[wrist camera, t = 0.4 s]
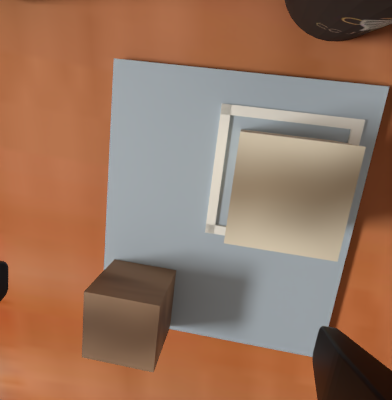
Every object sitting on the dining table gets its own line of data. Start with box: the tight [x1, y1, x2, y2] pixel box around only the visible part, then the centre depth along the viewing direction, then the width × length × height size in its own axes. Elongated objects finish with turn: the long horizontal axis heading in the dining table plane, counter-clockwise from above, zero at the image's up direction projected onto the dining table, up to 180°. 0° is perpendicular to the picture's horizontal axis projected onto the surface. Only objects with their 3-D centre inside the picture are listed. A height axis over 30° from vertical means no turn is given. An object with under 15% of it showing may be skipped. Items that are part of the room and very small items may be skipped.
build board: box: [104, 59, 389, 357], centre depth 21 cm, size 18×16×1 cm
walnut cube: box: [82, 259, 176, 372], centre depth 21 cm, size 4×4×4 cm
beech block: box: [224, 129, 366, 262], centre depth 17 cm, size 6×6×5 cm
